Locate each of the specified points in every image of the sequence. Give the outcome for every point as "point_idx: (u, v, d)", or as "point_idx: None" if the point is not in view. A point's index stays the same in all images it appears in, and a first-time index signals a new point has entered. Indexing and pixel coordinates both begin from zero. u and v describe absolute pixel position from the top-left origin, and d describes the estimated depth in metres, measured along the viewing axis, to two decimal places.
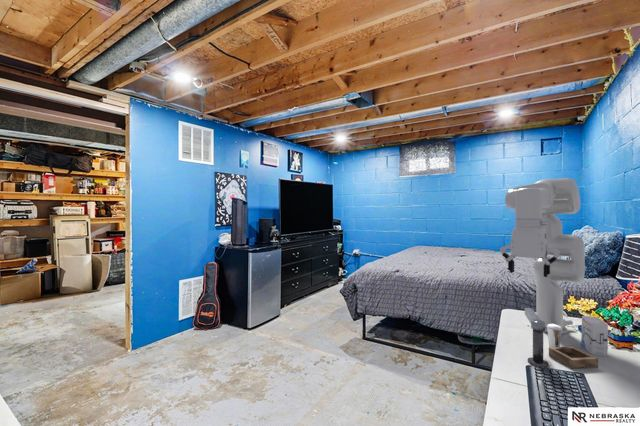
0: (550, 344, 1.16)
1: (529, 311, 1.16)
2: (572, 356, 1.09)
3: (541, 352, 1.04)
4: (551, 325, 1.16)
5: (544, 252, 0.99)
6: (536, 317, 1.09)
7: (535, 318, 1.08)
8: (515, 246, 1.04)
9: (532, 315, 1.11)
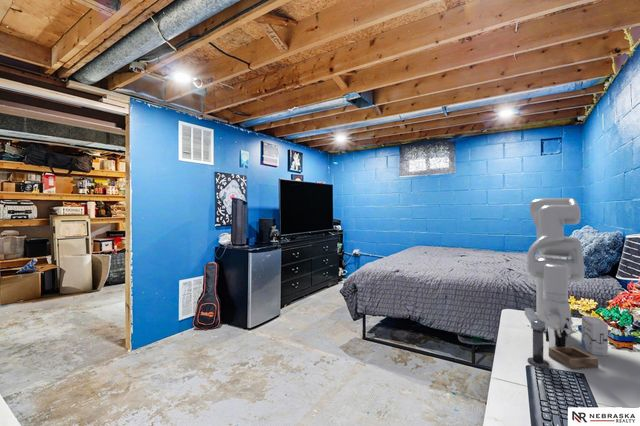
0: (550, 344, 1.16)
1: (529, 311, 1.16)
2: (572, 356, 1.09)
3: (541, 352, 1.04)
4: None
5: None
6: (536, 317, 1.09)
7: (535, 318, 1.08)
8: None
9: (532, 315, 1.11)
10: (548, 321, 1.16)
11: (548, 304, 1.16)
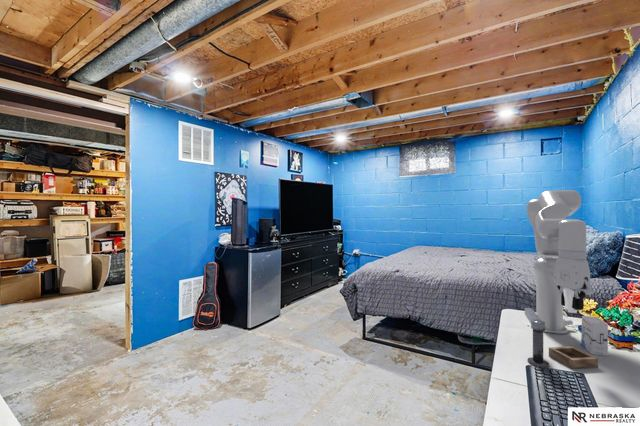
0: (566, 307, 1.06)
1: (529, 311, 1.16)
2: (572, 356, 1.09)
3: (541, 352, 1.04)
4: None
5: None
6: (536, 317, 1.09)
7: (535, 318, 1.08)
8: None
9: (532, 315, 1.11)
10: (564, 282, 1.06)
11: (564, 264, 1.06)
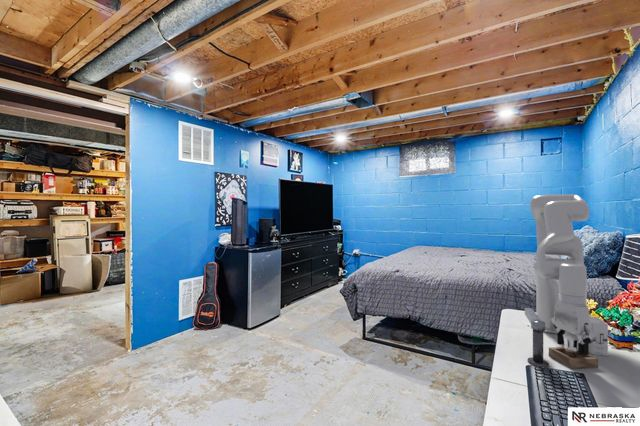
0: (567, 355, 1.06)
1: (529, 311, 1.16)
2: None
3: (541, 352, 1.04)
4: (568, 334, 1.06)
5: None
6: (536, 317, 1.09)
7: (535, 318, 1.08)
8: None
9: (532, 315, 1.11)
10: (564, 326, 1.06)
11: (565, 308, 1.06)
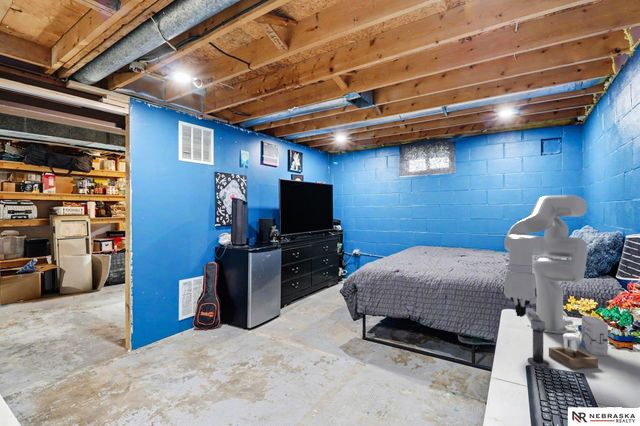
0: None
1: (530, 311, 1.16)
2: None
3: (541, 352, 1.04)
4: (568, 335, 1.06)
5: None
6: (536, 317, 1.09)
7: (535, 318, 1.08)
8: None
9: (532, 315, 1.11)
10: (517, 294, 1.16)
11: (517, 277, 1.16)
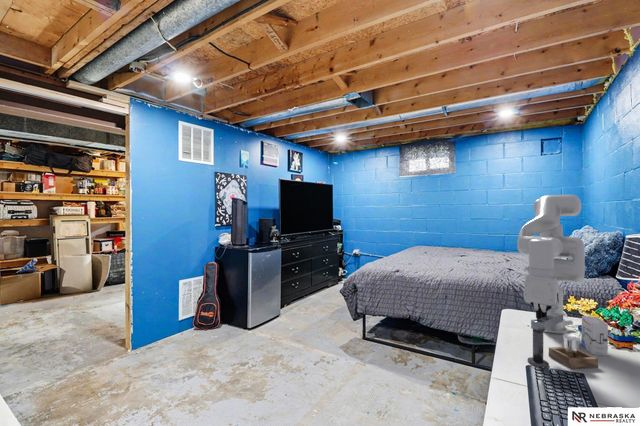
0: None
1: (552, 315, 1.11)
2: None
3: (541, 352, 1.04)
4: (568, 335, 1.06)
5: None
6: (545, 319, 1.07)
7: (541, 319, 1.07)
8: None
9: (545, 317, 1.09)
10: (537, 299, 1.11)
11: (538, 281, 1.11)
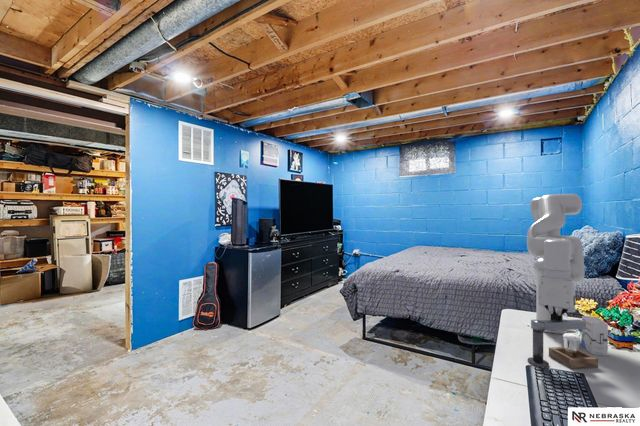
0: None
1: (568, 320, 1.06)
2: None
3: (541, 352, 1.04)
4: (568, 335, 1.06)
5: None
6: (550, 321, 1.05)
7: (546, 321, 1.05)
8: None
9: (555, 320, 1.06)
10: (552, 302, 1.07)
11: (553, 283, 1.07)
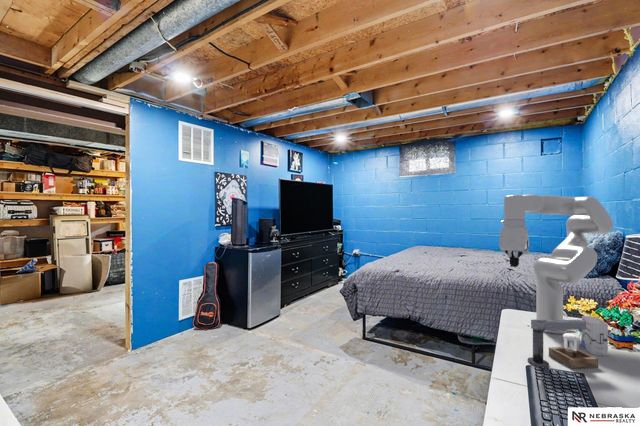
0: None
1: (569, 320, 1.06)
2: None
3: (541, 352, 1.04)
4: (568, 335, 1.06)
5: None
6: (550, 321, 1.05)
7: (546, 321, 1.05)
8: None
9: (555, 320, 1.06)
10: (511, 246, 1.28)
11: (511, 231, 1.28)
